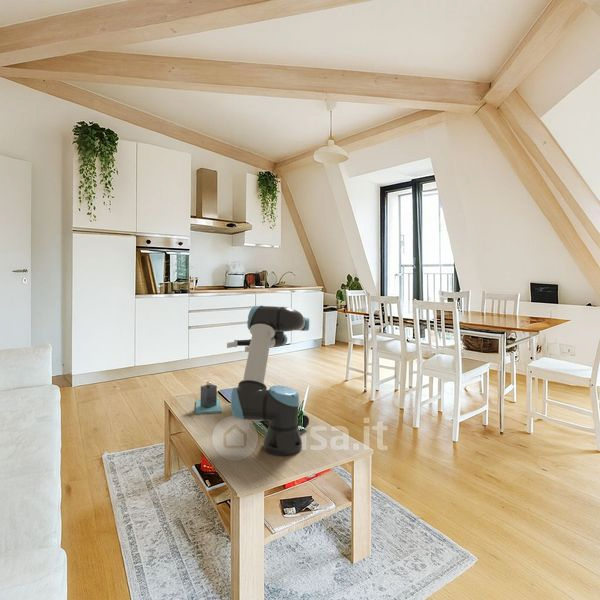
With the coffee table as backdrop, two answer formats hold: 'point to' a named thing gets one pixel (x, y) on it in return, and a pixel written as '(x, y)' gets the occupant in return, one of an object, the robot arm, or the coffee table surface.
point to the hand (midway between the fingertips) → (236, 347)
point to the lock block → (208, 395)
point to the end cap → (305, 421)
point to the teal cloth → (208, 410)
